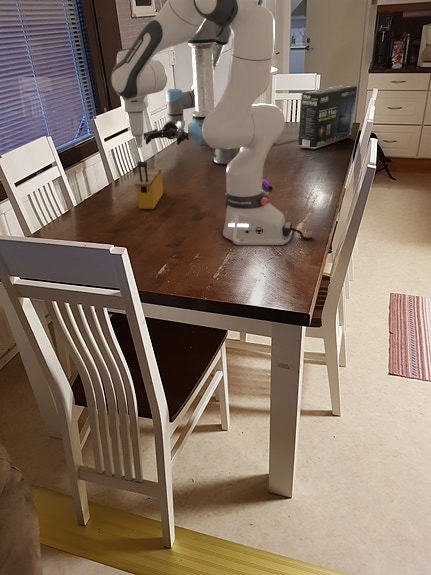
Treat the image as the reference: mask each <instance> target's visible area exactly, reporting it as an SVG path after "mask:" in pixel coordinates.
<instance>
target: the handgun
mask: <svg viewBox="0 0 431 575" xmlns="http://www.w3.org/2000/svg"><path fill="white" fill-rule="evenodd" d="M262 185H264V186H265V188H266V189H267V190H268V192H269V191H270V192H271V191H272V190H273V188H274V187H273V186H272V185H271V184H270V182H268V180H267V179H265V178H264V177H263V179H262Z"/></svg>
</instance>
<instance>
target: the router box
mask: <svg viewBox="0 0 431 575" xmlns="http://www.w3.org/2000/svg"><path fill="white" fill-rule="evenodd" d="M357 93H358V86H356V85H350V84H339V85H338V84H337V85H334V86H328V87H324V88H318V89H314V90H309V91H304V92H301V93H300V109H299V110H300V111H299V124H298V137H297V138H298V139H297V146H298V145H302V146H307V147H317V146H320V145H323V144H325V143H328V142H331V141H333V140H336V139H338V138H341V137H344V136H347V135H351V136H352V133H353V132H352V131H353V125H354V115H355V109H356V99H357ZM311 151H313V150H312V149H311Z"/></svg>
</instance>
